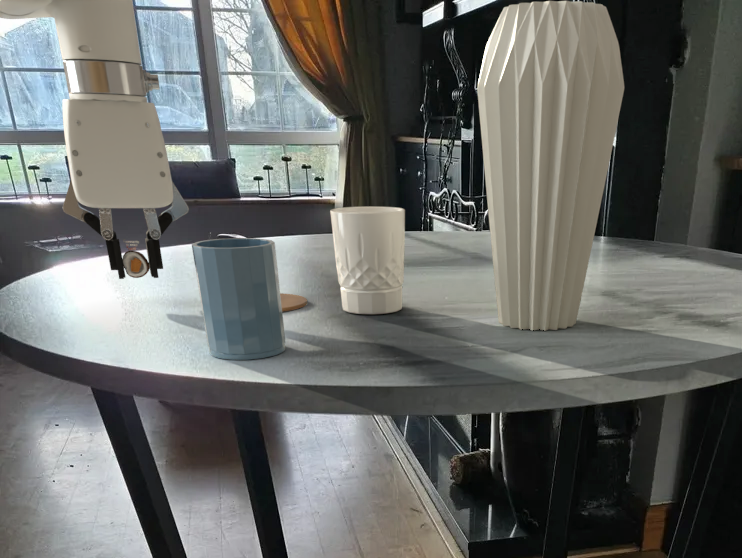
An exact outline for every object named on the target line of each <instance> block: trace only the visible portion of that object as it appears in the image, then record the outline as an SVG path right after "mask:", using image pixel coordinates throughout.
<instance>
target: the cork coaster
mask: <svg viewBox="0 0 742 558" xmlns="http://www.w3.org/2000/svg"><path fill="white" fill-rule="evenodd" d="M280 296H281V306H282V313H284V312H290V311H294V310H295V311H296V310H299V309H302V308H304V307H306V306H307V305H308V299H307V297H304V296H302V295H300V294H299V295H298V294H293V293H283V292H282V293H281V292H280Z"/></svg>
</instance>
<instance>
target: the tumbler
mask: <svg viewBox="0 0 742 558" xmlns="http://www.w3.org/2000/svg"><path fill="white" fill-rule="evenodd" d="M191 249H192V255H193V261H194V262H193V263H194V267H195V268H194V269H195V274H196V280H197V287H198V292H199V299H200V306H201V313H202V318H203V324H204V331H205V338H206V343H207V344H206V345H207V347H208V352H209V355H211V356H212V357H214V358H217V359H221V360H228V361H229V360H232V361H247V360H250V361H251V360H259V359H265V358H271V357H274V356H277V355H280V354H283V353H284V352H285V351H286V333H285V326H284V317H283V312H282V306H281V296H280V293H281V287H280V279H279V270H278V261H277V250H276V242H275V241H274V240H271V239H266V238H255V237H253V238H251V237H233V238H232V237H231V238H229V237H228V238H216V239H207V240H200V241H196V242H194V243H191Z"/></svg>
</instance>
